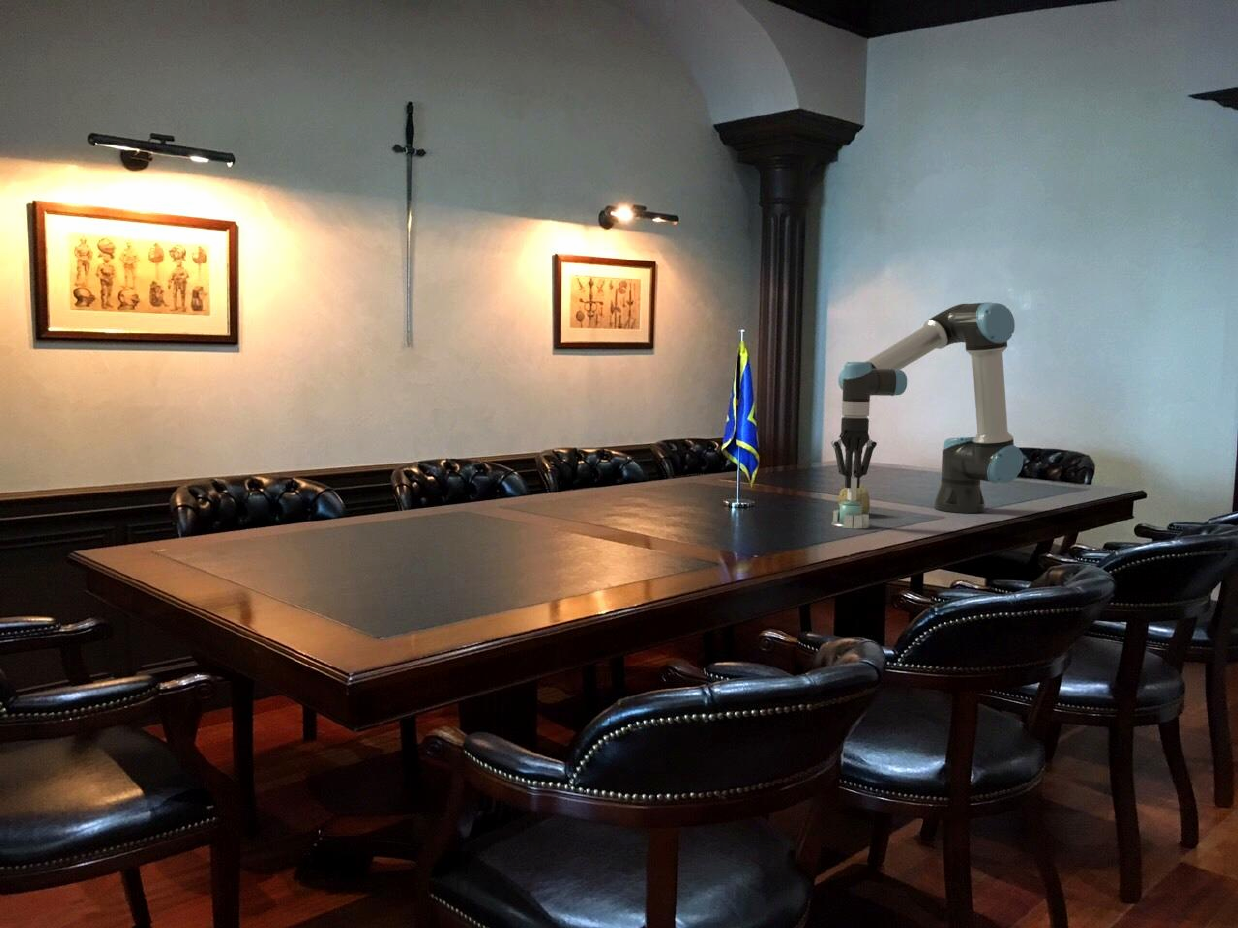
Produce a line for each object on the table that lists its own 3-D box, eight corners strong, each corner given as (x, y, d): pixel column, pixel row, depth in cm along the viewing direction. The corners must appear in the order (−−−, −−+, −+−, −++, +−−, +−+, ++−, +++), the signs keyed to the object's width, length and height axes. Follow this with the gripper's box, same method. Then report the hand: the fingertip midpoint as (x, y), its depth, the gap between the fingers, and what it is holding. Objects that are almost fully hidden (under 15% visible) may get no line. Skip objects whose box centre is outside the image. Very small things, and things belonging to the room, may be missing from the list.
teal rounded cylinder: (856, 521, 297) (857, 500, 297) (864, 524, 291) (865, 503, 291) (836, 521, 296) (837, 500, 296) (844, 525, 290) (845, 504, 290)
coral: (882, 494, 308) (854, 481, 306) (867, 525, 309) (839, 512, 307) (870, 487, 318) (842, 475, 315) (855, 517, 319) (827, 504, 316)
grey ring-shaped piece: (860, 521, 300) (861, 509, 300) (875, 528, 290) (876, 515, 289) (826, 522, 298) (826, 509, 298) (839, 528, 288) (840, 515, 288)
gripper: (871, 416, 295) (867, 497, 298) (828, 415, 293) (824, 498, 296) (882, 417, 288) (878, 501, 291) (838, 417, 286) (834, 502, 288)
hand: (851, 499), depth 293 cm, fingers closed
